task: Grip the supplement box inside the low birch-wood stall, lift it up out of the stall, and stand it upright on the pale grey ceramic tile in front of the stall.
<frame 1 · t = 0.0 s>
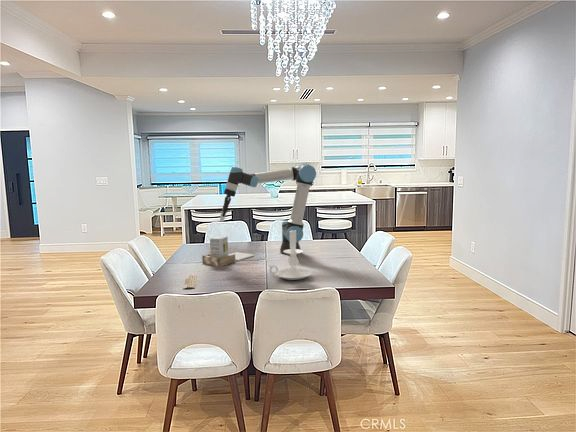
hand: (221, 219, 266), 28 cm above the table, tool tilted 20°, fingers open, 13 cm apart
newspaper: (189, 284, 220), on the table
stall: (219, 262, 265), on the table
supplement box: (219, 262, 265), on the table
candlestick: (290, 278, 224), on the table
tile: (237, 256, 278), on the table
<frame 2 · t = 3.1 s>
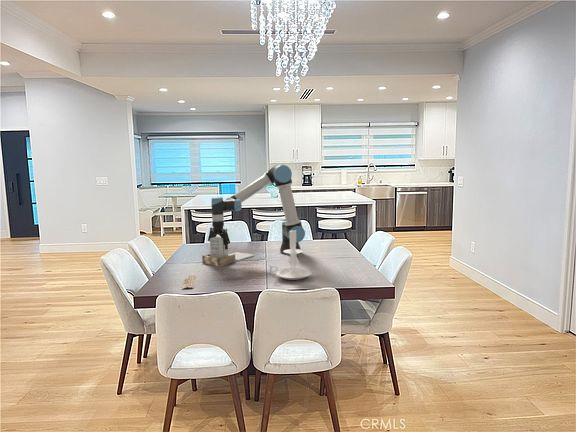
hand: (219, 253, 264), 6 cm above the table, tool pointing down, fingers closed on supplement box, 11 cm apart
supplement box: (219, 262, 265), on the table, touching gripper
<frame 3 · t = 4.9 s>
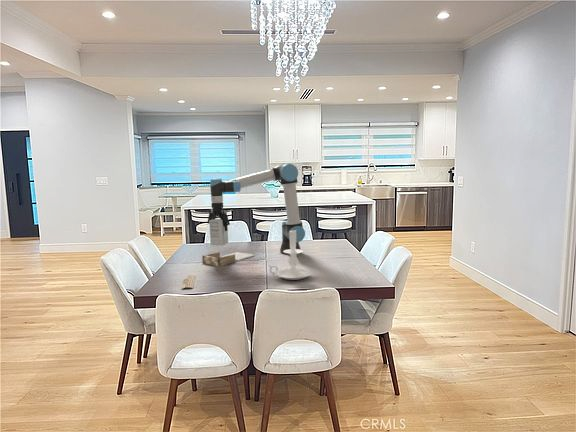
hand: (219, 235, 262), 18 cm above the table, tool pointing down, fingers closed on supplement box, 11 cm apart
supplement box: (219, 244, 263), point 12 cm above the table, touching gripper
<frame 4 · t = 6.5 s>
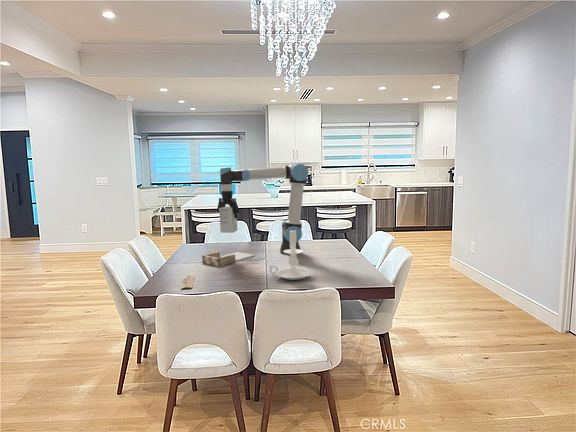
hand: (228, 222, 269), 25 cm above the table, tool pointing down, fingers closed on supplement box, 11 cm apart
supplement box: (229, 231, 269), point 19 cm above the table, touching gripper
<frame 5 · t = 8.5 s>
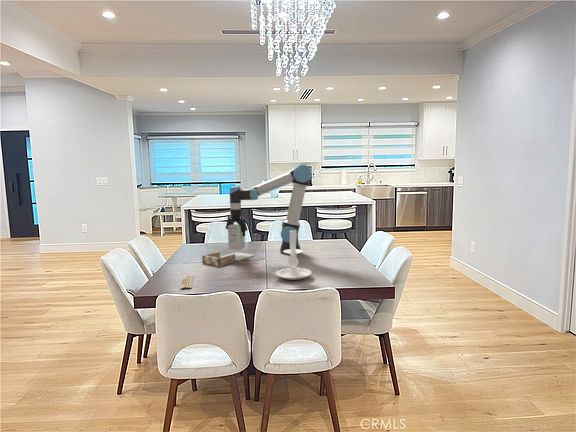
hand: (236, 239, 277), 12 cm above the table, tool pointing down, fingers closed on supplement box, 11 cm apart
supplement box: (237, 248, 277), point 6 cm above the table, touching gripper
when the fingers open (8 cm above the table, at t = 9.9 s): supplement box drops 1 cm, resting on tile.
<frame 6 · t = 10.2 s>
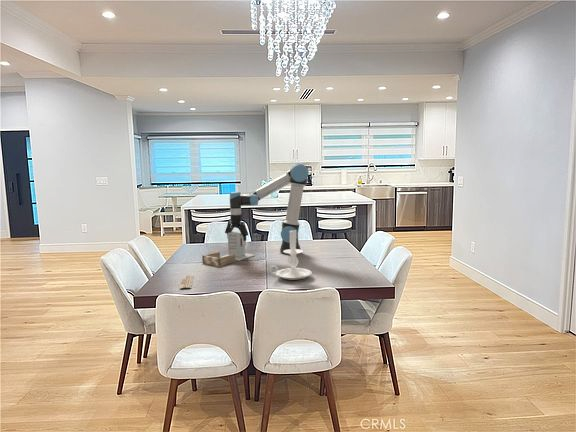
hand: (236, 244, 277), 9 cm above the table, tool pointing down, fingers open, 13 cm apart
supplement box: (237, 256, 278), point 1 cm above the table, touching tile
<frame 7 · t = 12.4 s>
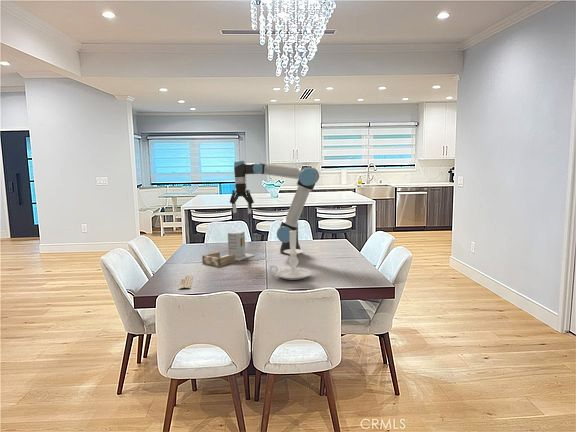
hand: (242, 213, 279), 30 cm above the table, tool pointing down, fingers open, 13 cm apart
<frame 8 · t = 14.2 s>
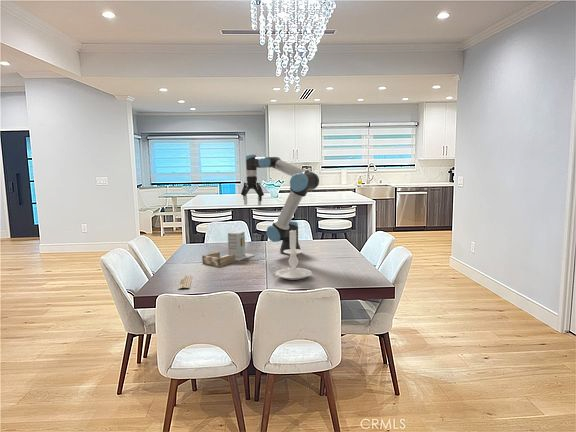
hand: (252, 205, 291), 35 cm above the table, tool pointing down, fingers open, 13 cm apart
at the end: supplement box inside the target area on the tile (0.3 cm from its centre), point 0.6 cm above the tile's base; supplement box tilted 0°; the gripper is holding nothing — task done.
